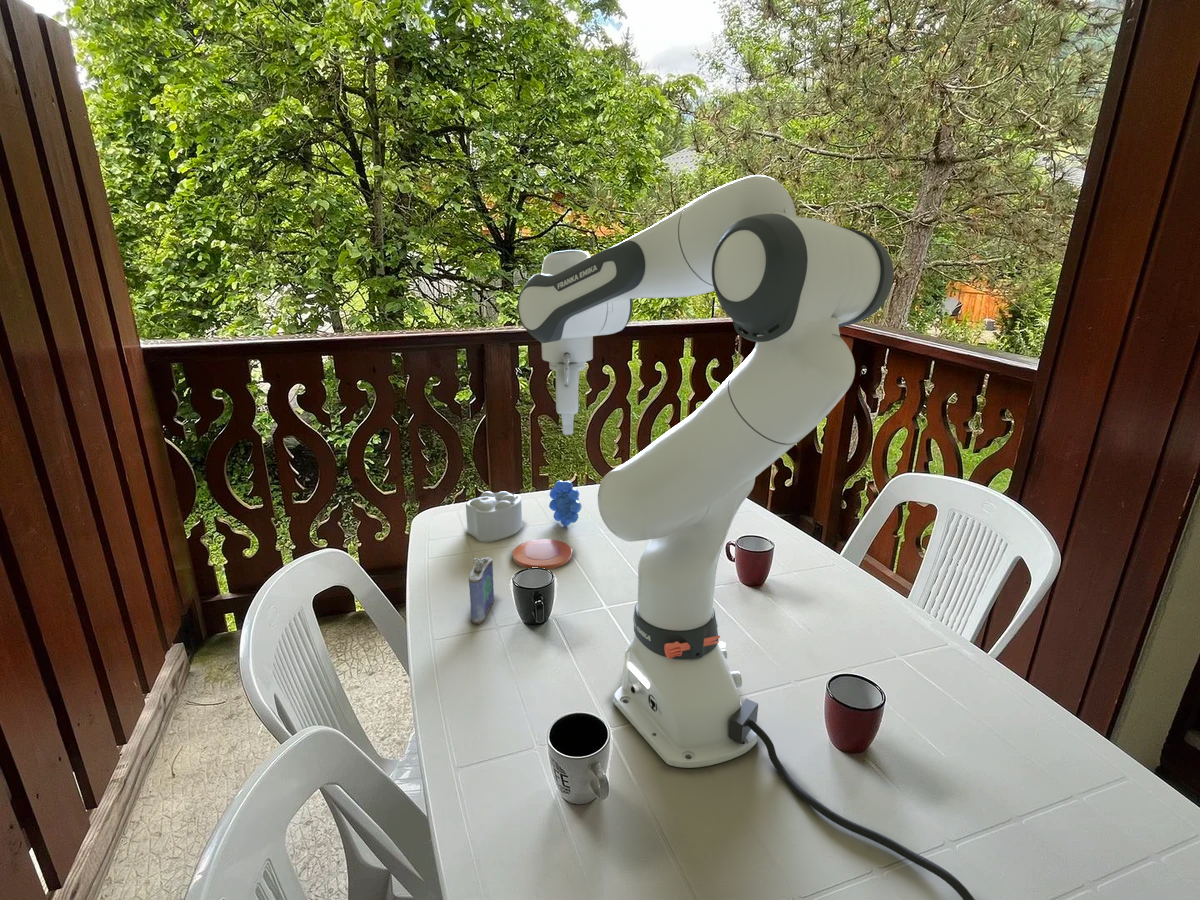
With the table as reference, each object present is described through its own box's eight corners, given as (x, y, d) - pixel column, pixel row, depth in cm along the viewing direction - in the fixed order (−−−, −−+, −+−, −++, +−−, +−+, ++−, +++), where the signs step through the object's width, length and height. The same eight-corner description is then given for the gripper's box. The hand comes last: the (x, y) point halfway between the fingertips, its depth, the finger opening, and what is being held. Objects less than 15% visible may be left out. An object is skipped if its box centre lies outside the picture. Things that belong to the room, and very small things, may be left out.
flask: (482, 624, 115) (479, 571, 111) (467, 623, 115) (462, 570, 112) (496, 598, 123) (493, 548, 120) (482, 597, 124) (478, 547, 120)
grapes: (594, 528, 154) (593, 482, 150) (571, 536, 150) (571, 488, 146) (565, 513, 162) (564, 469, 159) (543, 520, 158) (542, 475, 155)
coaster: (579, 564, 136) (579, 560, 136) (519, 574, 132) (519, 569, 132) (562, 539, 148) (562, 535, 148) (507, 547, 144) (507, 543, 144)
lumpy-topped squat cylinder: (462, 529, 153) (460, 496, 151) (508, 515, 161) (507, 483, 159) (484, 544, 146) (482, 509, 143) (531, 528, 154) (530, 495, 151)
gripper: (586, 359, 100) (587, 443, 104) (584, 340, 119) (585, 411, 123) (546, 359, 99) (548, 443, 104) (551, 340, 119) (552, 412, 123)
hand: (568, 426), depth 114 cm, fingers open, 8 cm apart
